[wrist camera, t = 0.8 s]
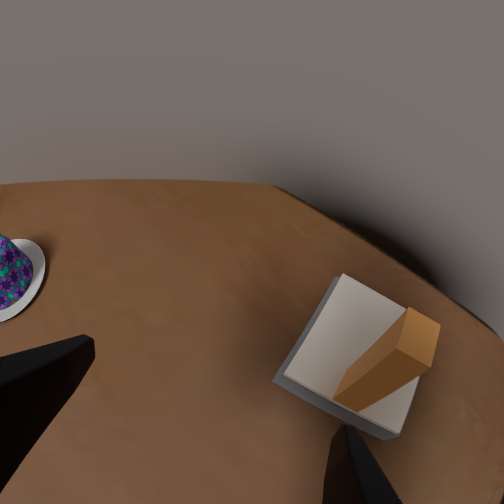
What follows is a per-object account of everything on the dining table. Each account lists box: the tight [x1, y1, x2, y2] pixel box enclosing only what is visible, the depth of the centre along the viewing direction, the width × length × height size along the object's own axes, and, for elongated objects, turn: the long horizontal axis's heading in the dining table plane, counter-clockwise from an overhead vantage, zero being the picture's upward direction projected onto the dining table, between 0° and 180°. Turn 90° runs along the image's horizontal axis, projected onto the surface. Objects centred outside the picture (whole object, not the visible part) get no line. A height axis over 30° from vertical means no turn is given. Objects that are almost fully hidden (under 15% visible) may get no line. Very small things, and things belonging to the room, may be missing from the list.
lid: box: [283, 274, 441, 434], centre depth 21 cm, size 12×11×10 cm
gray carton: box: [272, 276, 420, 441], centre depth 26 cm, size 12×12×2 cm
